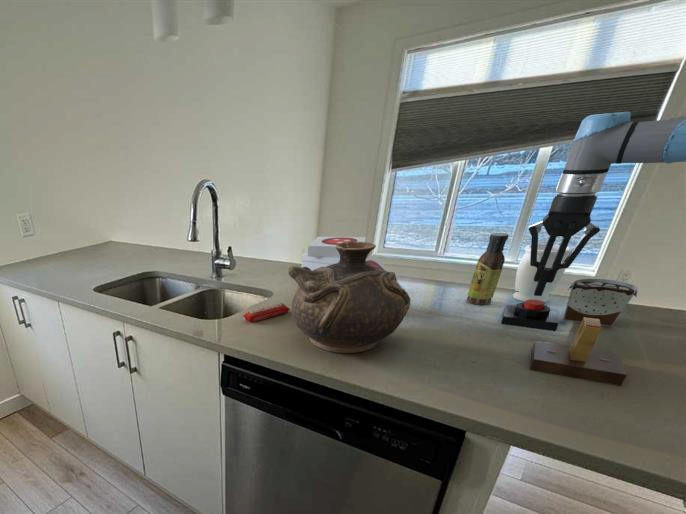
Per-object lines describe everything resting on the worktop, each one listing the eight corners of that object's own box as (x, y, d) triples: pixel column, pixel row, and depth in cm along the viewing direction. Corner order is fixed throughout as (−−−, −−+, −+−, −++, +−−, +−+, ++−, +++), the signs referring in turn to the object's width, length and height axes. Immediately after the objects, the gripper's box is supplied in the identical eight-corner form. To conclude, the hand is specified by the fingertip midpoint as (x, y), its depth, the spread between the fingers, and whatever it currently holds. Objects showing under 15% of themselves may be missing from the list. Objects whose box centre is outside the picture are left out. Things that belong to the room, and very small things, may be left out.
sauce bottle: (462, 299, 125) (481, 231, 115) (485, 299, 123) (507, 230, 113) (470, 306, 120) (491, 236, 110) (494, 306, 118) (518, 235, 108)
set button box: (554, 318, 108) (560, 303, 106) (555, 331, 101) (561, 316, 99) (503, 312, 114) (508, 298, 112) (500, 324, 107) (505, 309, 105)
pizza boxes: (377, 317, 118) (388, 255, 109) (290, 298, 138) (294, 244, 129) (406, 300, 128) (418, 241, 119) (321, 284, 149) (326, 233, 140)
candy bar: (248, 324, 121) (248, 315, 120) (241, 320, 124) (241, 311, 123) (291, 313, 127) (291, 304, 125) (283, 309, 130) (284, 300, 128)
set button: (542, 307, 106) (545, 300, 105) (542, 311, 103) (545, 305, 102) (523, 304, 108) (525, 298, 107) (522, 309, 106) (525, 303, 105)
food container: (620, 320, 104) (639, 281, 99) (620, 328, 100) (640, 288, 95) (556, 311, 111) (571, 275, 106) (555, 319, 107) (570, 282, 102)
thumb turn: (569, 349, 88) (584, 316, 84) (584, 351, 86) (600, 317, 83) (569, 359, 84) (585, 325, 80) (585, 362, 83) (602, 327, 79)
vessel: (265, 342, 109) (272, 246, 98) (326, 319, 124) (338, 233, 112) (359, 374, 90) (380, 259, 78) (418, 342, 104) (443, 241, 93)
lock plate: (614, 363, 86) (620, 351, 85) (621, 385, 79) (627, 374, 78) (530, 350, 94) (535, 339, 93) (529, 369, 87) (534, 358, 85)
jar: (501, 293, 126) (517, 244, 119) (539, 292, 124) (558, 242, 117) (519, 304, 117) (537, 252, 110) (560, 304, 115) (582, 250, 108)
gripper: (539, 196, 93) (505, 295, 105) (618, 195, 86) (572, 302, 98) (539, 192, 98) (507, 287, 110) (614, 191, 91) (570, 293, 103)
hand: (537, 294), depth 104 cm, fingers closed
